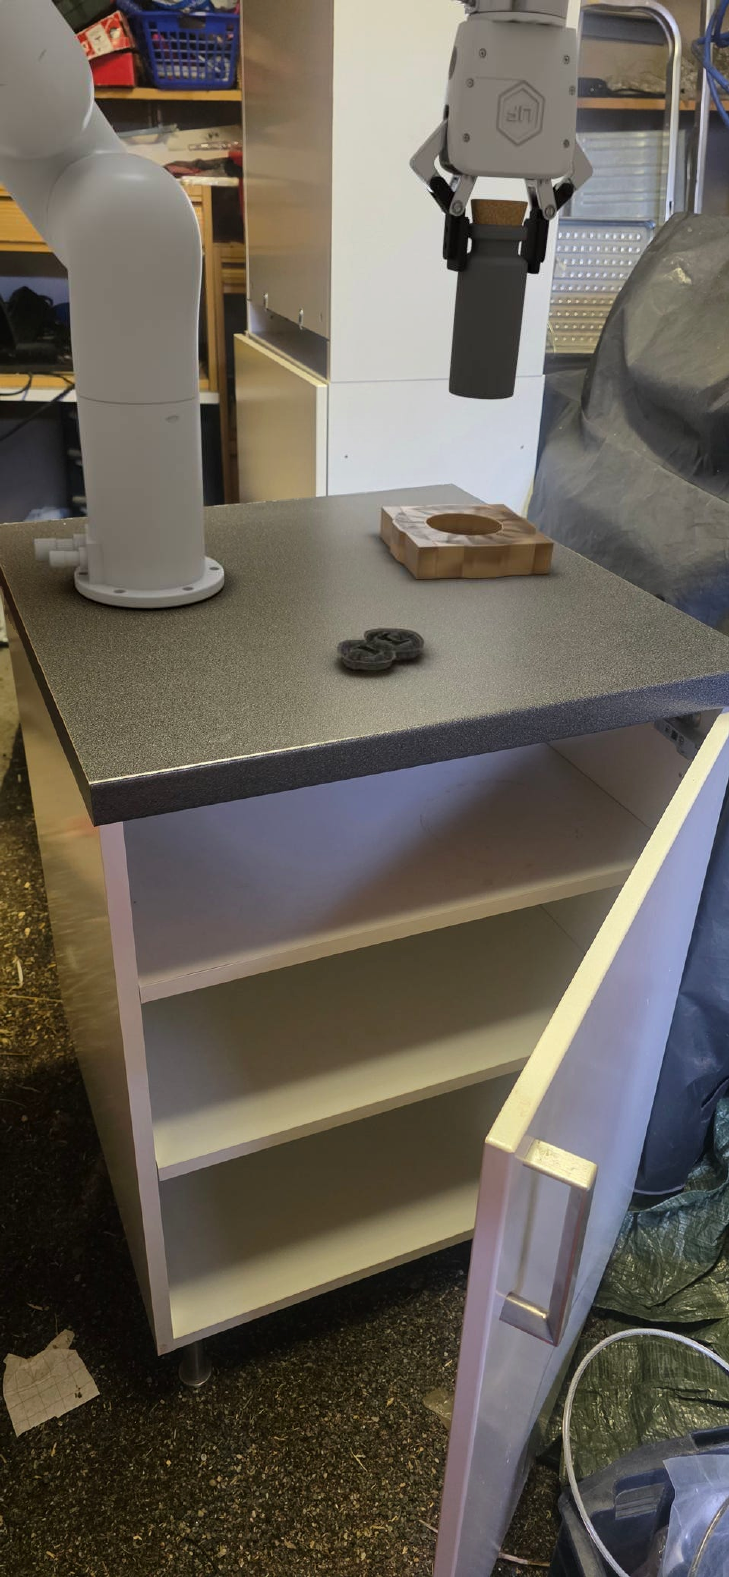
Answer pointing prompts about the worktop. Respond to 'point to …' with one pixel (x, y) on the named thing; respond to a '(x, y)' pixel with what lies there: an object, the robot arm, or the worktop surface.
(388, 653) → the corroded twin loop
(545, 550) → the socket pad
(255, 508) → the worktop surface
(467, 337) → the bottle
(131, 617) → the worktop surface
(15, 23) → the robot arm
